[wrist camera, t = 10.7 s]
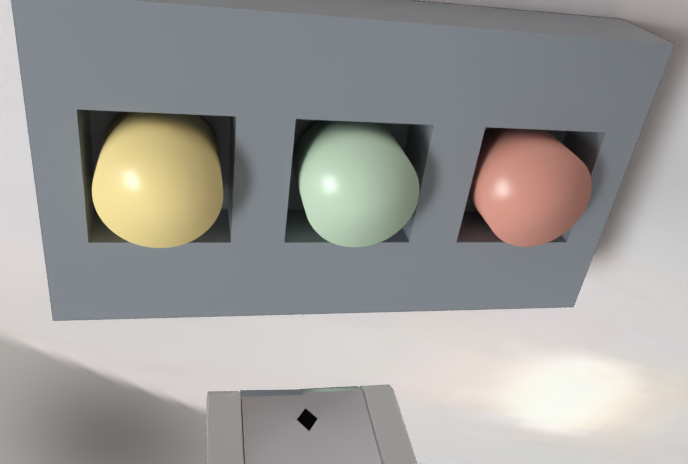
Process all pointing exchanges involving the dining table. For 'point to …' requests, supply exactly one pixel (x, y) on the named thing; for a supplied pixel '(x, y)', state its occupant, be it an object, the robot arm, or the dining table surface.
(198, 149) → the mustard button
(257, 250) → the button panel
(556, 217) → the brick button
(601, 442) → the dining table surface
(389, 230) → the sage button
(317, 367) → the dining table surface
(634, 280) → the dining table surface
